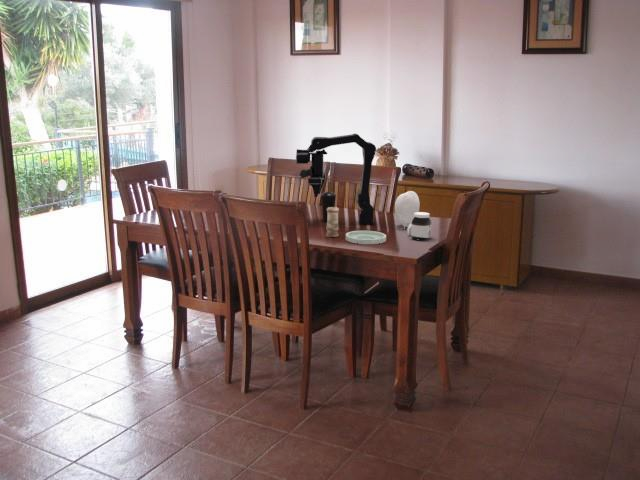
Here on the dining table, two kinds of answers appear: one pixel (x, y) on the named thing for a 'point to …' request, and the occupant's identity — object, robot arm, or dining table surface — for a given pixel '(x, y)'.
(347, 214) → the dining table surface
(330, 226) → the bead tower
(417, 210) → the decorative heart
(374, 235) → the round tray
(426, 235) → the spread jar
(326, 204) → the drinking cup
